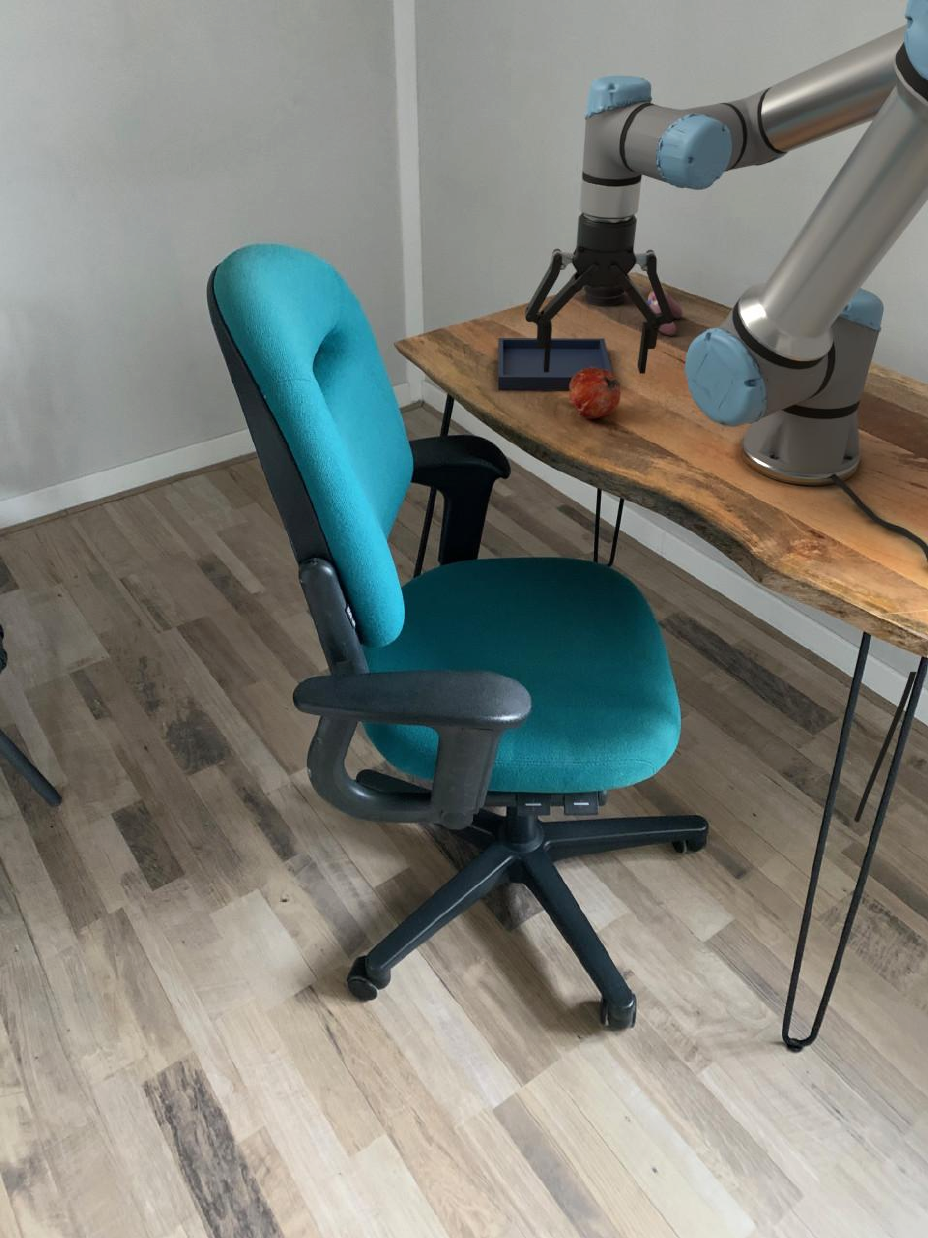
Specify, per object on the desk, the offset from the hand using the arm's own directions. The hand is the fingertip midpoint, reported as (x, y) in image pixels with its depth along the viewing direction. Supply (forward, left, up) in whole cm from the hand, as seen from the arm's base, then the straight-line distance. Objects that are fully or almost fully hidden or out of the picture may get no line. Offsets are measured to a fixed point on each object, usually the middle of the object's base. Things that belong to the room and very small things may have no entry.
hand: (593, 369), depth 136 cm
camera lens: (+48, -6, -7) cm, 49 cm away
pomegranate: (0, 0, -7) cm, 7 cm away
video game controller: (+35, -15, -7) cm, 39 cm away
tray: (+16, +5, -7) cm, 18 cm away
